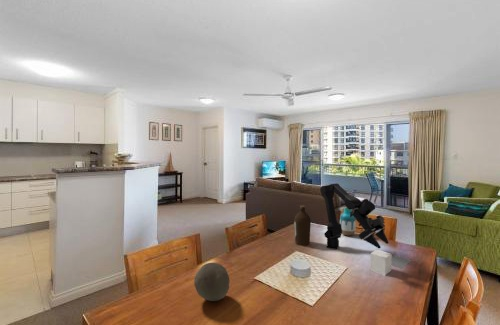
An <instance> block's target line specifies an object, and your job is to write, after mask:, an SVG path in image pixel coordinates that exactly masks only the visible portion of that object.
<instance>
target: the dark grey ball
mask: <svg viewBox="0 0 500 325" xmlns="http://www.w3.org/2000/svg"><path fill="white" fill-rule="evenodd" d="M193 281H194V282H193V284H194V288H195V290H196V292H197V294H198V296H200V297H201V298H202V299H204V300H207V301H208V302H209V301H210V302H219V301H220V300H222V299H224V298H225V297H226V296H227V294H228V293H229V290H230V282H231V281H230V276H229V273H228V271H227V268H226V267H225V266H223V265H222V264H221V263H218V262H208V263H207V262H206V263H205V264H203V265H202V266H201V267H199V269H198V270H197V271H196V274H195V275H194V280H193Z"/></svg>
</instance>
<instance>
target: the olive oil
mask: <svg viewBox="0 0 500 325" xmlns="http://www.w3.org/2000/svg"><path fill="white" fill-rule="evenodd" d="M293 219H294V222H293V224H294V243H295V244H296V245H298V246H302V247H303V246H309V245H310V242H311V240H310V239H311V223H312V222H311V221H312V220H311V216H310V215H309V214H308V213H307V212H306V206H305V205H299V212H297V213H296V215H295V216H294V218H293Z"/></svg>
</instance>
